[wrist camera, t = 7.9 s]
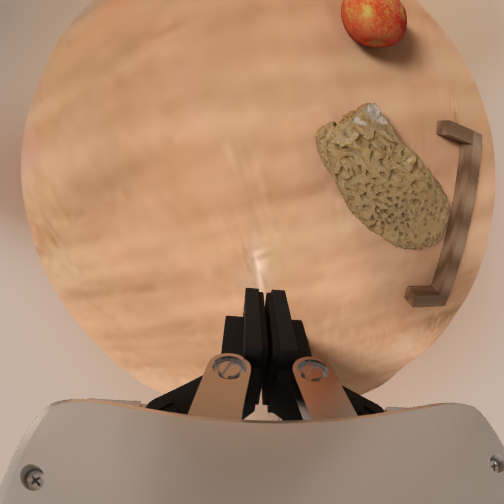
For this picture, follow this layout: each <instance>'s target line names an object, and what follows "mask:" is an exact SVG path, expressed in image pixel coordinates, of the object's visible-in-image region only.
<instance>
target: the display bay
mask: <svg viewBox="0 0 504 504" xmlns="http://www.w3.org/2000/svg"><path fill="white" fill-rule="evenodd" d="M437 135H440V136H443V137H446V138H449V139H452V140H454V141H457V142H459V143H460V152H459V162H458V171H457V178H456V185H455V192H454V197H453V203H452V208H451V214H450V218H449V223H448V228H447V232H446V236H445V240H444V244H443V248H442V252H441V256H440V259H439V263H438V266H437V269H436V273H435V276H434V279H433V282H432V285H431V286H408V288H407V291H406V294H405V297H404V298H405V299H406V300H407V301H408V302H409V304H410V305H411V306H412V307H432V306H445V304H446V302H447V299H448V296H449V294H450V291H451V288H452V285H453V282H454V279H455V276H456V273H457V270H458V267H459V264H460V260H461V257H462V253H463V250H464V246H465V242H466V238H467V234H468V230H469V226H470V221H471V217H472V212H473V207H474V201H475V196H476V190H477V183H478V176H479V168H480V158H481V146H482V135H481V134H479V133H477V132H475V131H473V130H471V129H469V128H466V127H464V126H462V125H459V124H457V123H455V122H452V121H437Z"/></svg>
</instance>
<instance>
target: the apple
mask: <svg viewBox="0 0 504 504" xmlns="http://www.w3.org/2000/svg"><path fill="white" fill-rule="evenodd" d="M341 17H342V21H343V25H344V28H345V30H346V31H347V33H348V34H349V36H350V37H351V38H352V39H353V40H354V41H356V42H357V43H359V44H361V45H365V46H371V47H387V46H392V45H395V44H396V43H398V42H399V41H400V40H401V39H402V37H403V36H404V34H405V31H406V25H407V16H406V11H405V8H404V6H403V4H402V3H401V2H400V0H343V2H342V6H341Z"/></svg>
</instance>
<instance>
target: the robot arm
mask: <svg viewBox="0 0 504 504" xmlns="http://www.w3.org/2000/svg"><path fill="white" fill-rule="evenodd" d="M0 504H504V447H503V445H502V443H501V441H500V440H499V438H498V436H497V434H496V433H495V431H494V430H493V428H492V427H491V425H490V424H489V422H488V421H487V419H486V418H485V417H484V416H483V415H482V413H481V412H480V411H479V410H477V409H476V408H474V407H473V406H469V405H465V404H459V403H438V404H430V405H425V406H418V407H413V408H397V407H387V408H386V409H385V410H383V409H382V408H381V407H380V406H379V405H377V404H375V403H374V402H372V401H370V400H368V399H366V398H364V397H362V396H360V395H358V394H357V393H355V392H353V391H351V390H349V389H347V388H346V387H344V386H342V385H341V384H340V382H339V380H338V378H337V376H336V374H335V373H334V371H333V369H332V367H331V366H330V365H329V364H328V363H327V362H326V361H324V360H322V359H320V358H316V357H312V356H311V352H310V348H309V345H308V341H307V337H306V334H305V330H304V326H303V323H302V321H301V320H291V315H290V311H289V307H288V302H287V298H286V294H285V291H284V290H272V291H271V293H267V294H266V301H265V306H264V295H263V292H259V289H255V288H246V291H245V302H244V313H243V317H237V316H226V319H225V327H224V335H223V343H222V351H221V354H219V355H216V356H214V357H213V358H212V359H211V360H210V361H209V363H208V365H207V367H206V370H205V372H204V375H203V376H201V377H199V378H197V379H195V380H193V381H191V382H189V383H187V384H185V385H183V386H181V387H179V388H177V389H175V390H173V391H171V392H168V393H166V394H164V395H162V396H160V397H158V398H156V399H154V400H152V401H151V402H149V404H141V401H124V400H123V401H122V400H105V399H93V398H92V399H69V400H62V401H57V402H55V403H52V404H50V405H49V406H47V407H46V408H45V409H43V410H42V411H41V412H40V413H39V414H38V416H37V417H36V418H35V420H34V421H33V422H32V424H31V425H30V427H29V428H28V430H27V431H26V433H25V434H24V436H23V438H22V440H21V442H20V444H19V445H18V447H17V449H16V451H15V453H14V455H13V457H12V459H11V462H10V464H9V466H8V469H7V471H6V473H5V476H4V479H3V481H2V484H1V486H0Z"/></svg>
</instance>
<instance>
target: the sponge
mask: <svg viewBox="0 0 504 504" xmlns="http://www.w3.org/2000/svg"><path fill="white" fill-rule="evenodd" d="M315 137H316V144H317V149H318V153H319V155H320V158H321V160H322V162H323V164H324V166H325V167H326V169H327V170H328V171H329V173H330V174H331V176H332V177H333V179H334V181H335V183H336V184H337V186H338V187H339V189H340V192H341V194H342V196H343V198H344V200H345V202H346V204H347V206H348V208H349V209H350V211H351V212H352V213H353V214H354V215H355V217H356V218H358V219H359V220H360V221H361V222H362V223H363V224H365V225H366V227H367V228H368V229H369V230H370V231H373V232H374V233H376V234H379V235H380V236H381V237H383V238H384V239H385V240H387V241H388V242H390V243H391V244H393V245H394V246H396V247H397V246H398V247H402V248H404V249H413V250H414V249H417V248H418V249H420V250H421V249H422V248H423V246H424V245H427V246H428V247H430V246H431V245H433V244H435V243H437V242H439V241H440V240H441V239H442V238H443V231H444V229H445V224H446V223H447V222H448V221H449V213H448V211H449V210H450V208H449V205H448V200H447V196H446V194H445V193H444V192H443V189H442V187H441V185H440V184H439V182H438V181H437V180H436V179H435V177H433V176H432V174H431V172H430V171H429V170H428V169H427V168H426V167H425V166H424V165H423V163H422V162H421V160H420V157H419V156H418V155H417V154H415V153H414V152H413V151H412V150H411V149H410V148H409V147H407V146H406V145H405V144H404V143H403V142H402V141H401V140H400V139H399V138H398V136H397V135H396V132H395V129H394V127H393V126H392V124H391V123H390V122H389V121H388V120H387V119H386V118H385V117H384V116H383V115H382V114H381V113H380V108H379V107H378V106H377V105H376V104H375V103H366V104H363V105H361V106H360V107H358V108H357V110H356V111H349V113H348V114H346V115H344V116H343V119H342V120H341V121H340V122H339V123H338V124H336V122H330V123H328V124H327V125H325V126H323V127H321V128H320V129H318V131H317V133H316V136H315Z"/></svg>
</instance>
